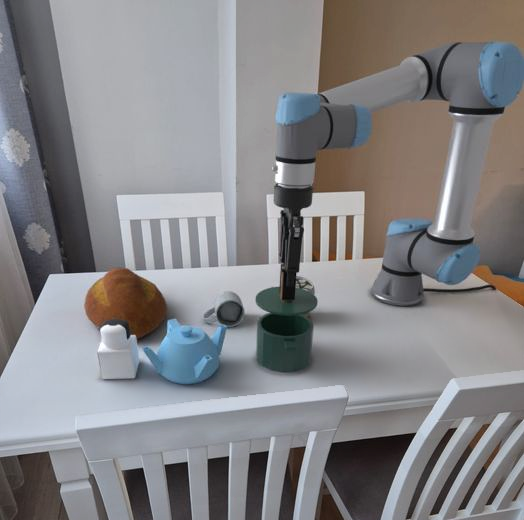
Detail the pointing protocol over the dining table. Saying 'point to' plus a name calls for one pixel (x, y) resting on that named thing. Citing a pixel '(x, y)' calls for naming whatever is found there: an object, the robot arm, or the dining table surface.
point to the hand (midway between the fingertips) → (286, 295)
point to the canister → (284, 342)
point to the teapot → (187, 353)
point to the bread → (126, 301)
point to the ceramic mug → (226, 310)
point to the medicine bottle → (117, 350)
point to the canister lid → (286, 301)
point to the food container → (305, 286)
